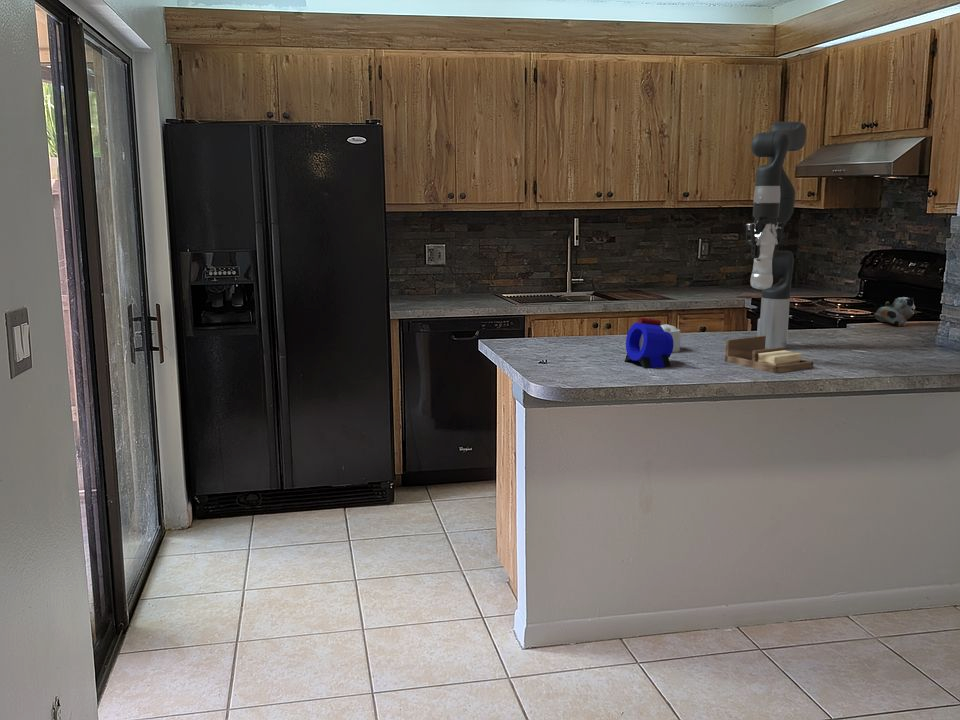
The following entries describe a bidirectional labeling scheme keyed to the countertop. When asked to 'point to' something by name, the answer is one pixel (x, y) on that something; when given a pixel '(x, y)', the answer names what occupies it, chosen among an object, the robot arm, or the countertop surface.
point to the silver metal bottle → (764, 262)
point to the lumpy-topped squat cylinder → (675, 335)
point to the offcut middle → (780, 363)
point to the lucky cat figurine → (896, 311)
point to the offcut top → (779, 356)
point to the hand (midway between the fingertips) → (763, 257)
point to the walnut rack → (749, 349)
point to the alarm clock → (649, 344)
